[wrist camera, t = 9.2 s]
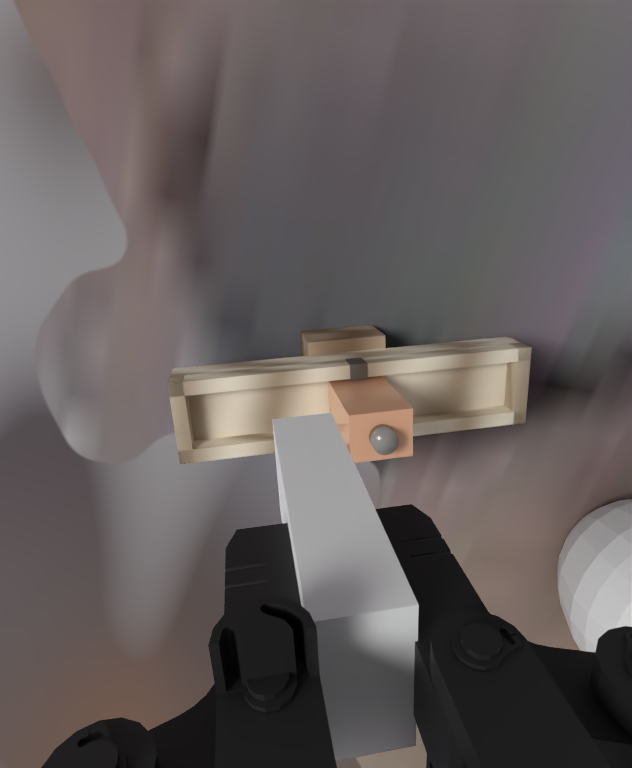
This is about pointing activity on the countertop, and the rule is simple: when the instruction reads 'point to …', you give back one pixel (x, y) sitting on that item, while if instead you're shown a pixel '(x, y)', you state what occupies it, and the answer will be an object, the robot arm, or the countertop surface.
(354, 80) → the countertop surface
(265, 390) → the beam
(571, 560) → the vase
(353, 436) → the block
